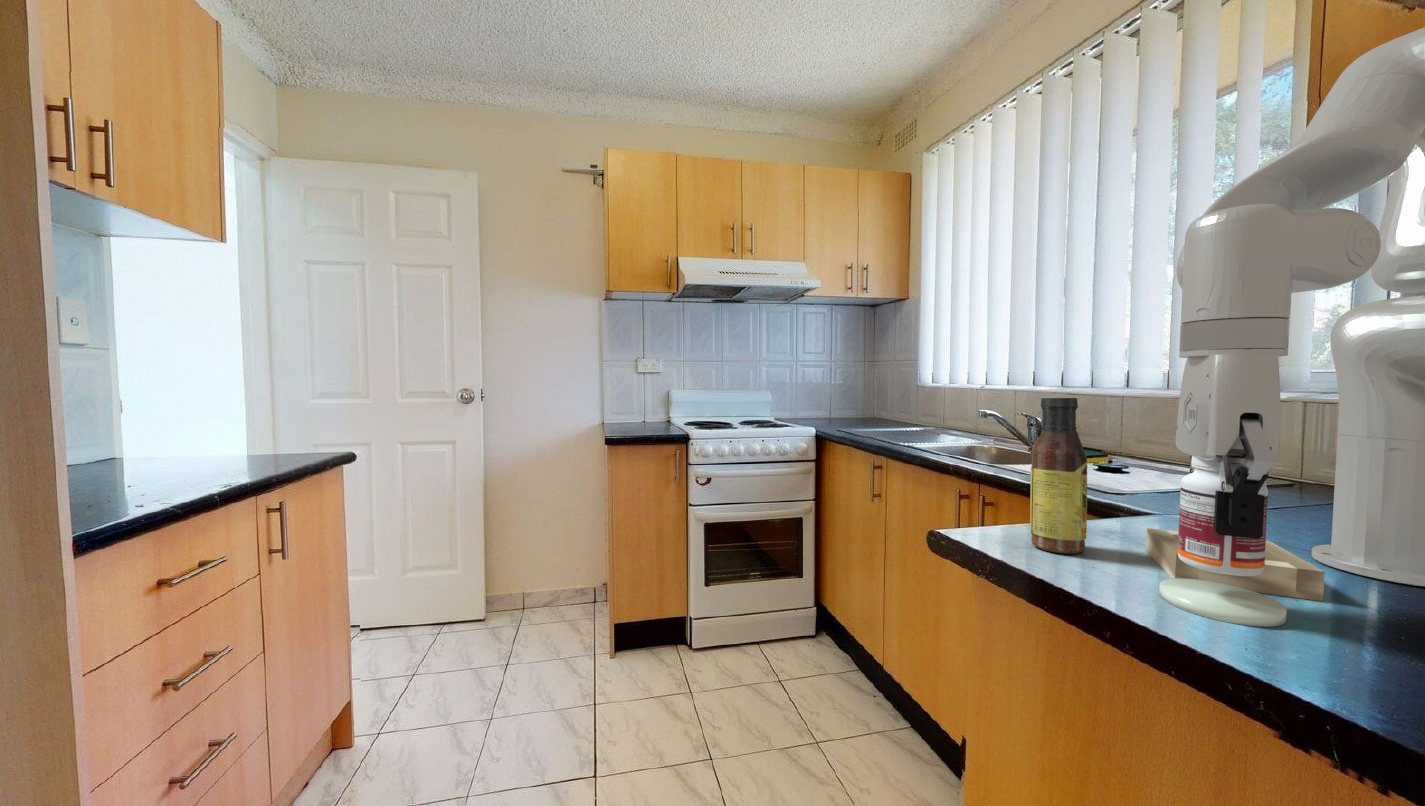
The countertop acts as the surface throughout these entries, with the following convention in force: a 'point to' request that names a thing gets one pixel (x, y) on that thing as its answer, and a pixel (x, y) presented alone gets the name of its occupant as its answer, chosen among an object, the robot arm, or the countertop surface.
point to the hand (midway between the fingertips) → (1222, 525)
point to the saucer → (1223, 602)
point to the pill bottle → (1198, 527)
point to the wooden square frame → (1277, 578)
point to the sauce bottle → (1058, 480)
